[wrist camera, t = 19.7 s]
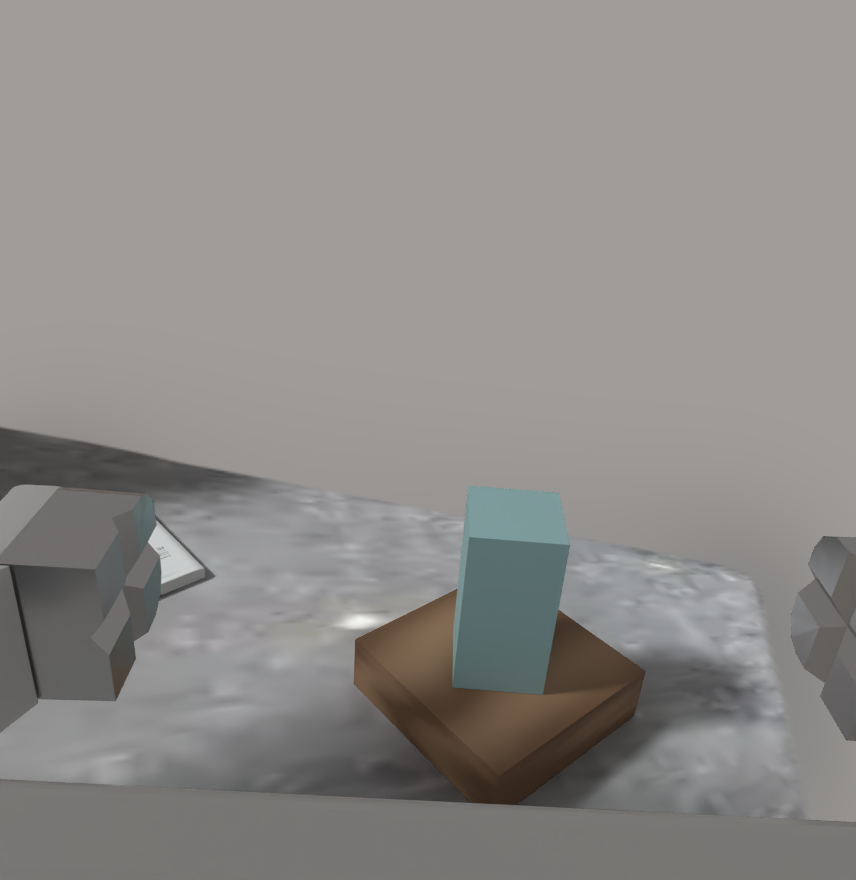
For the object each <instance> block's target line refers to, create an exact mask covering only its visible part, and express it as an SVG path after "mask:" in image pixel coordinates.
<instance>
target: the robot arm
mask: <svg viewBox="0 0 856 880" xmlns="http://www.w3.org/2000/svg"><path fill="white" fill-rule="evenodd" d="M156 525H157V523H156V516H155V509H154V502H153V500H152V499H151V498H150V496H149V495H148V494H145V493H132V492H120V491H108V490H95V489H83V488H70V487H65V488H63V487H60V486H44V485H19V486H14V487H13V488H12V489H11V490H10V491H9V492H8V493H7V494H6V495H5V496H4V498H3V499H2V500H1V501H0V732H1V731H3V730H4V729H5V728H7V727H8V726H9V725H10V724H12V723H13V722H14V721H16V720H17V719H18V718H20V717H21V716H22V715H23V714H25V713H26V712H27V711H29V710H30V709H31V708H32V707H34V706H35V705H36V704H38V699H54V700H92V701H116V699H117V697H118V695H119V693H120V691H121V689H122V687H123V685H124V682H125V680H126V678H127V676H128V674H129V672H130V670H131V668H132V666H133V663H134V661H135V659H136V656H135V648H134V641H135V640H136V639H138V638H139V637H141V636H143V635H144V634H146V633H147V632H148V631H149V629H150V627H151V624H152V622H153V620H154V618H155V615H156V611H157V607H158V602H159V598H160V593H161V574H162V572H161V561H160V555H159V554H158V553H157V552H156V551H155V550H154V548H153V547H152V546H151V545H150V544H149V543H148V540H149V539H150V537H151V535H152V533H153V531H154V529H155V527H156ZM808 565H809V567H810V569H811V571H812V573H813V575H814V577H815V580H813V581H812V582H811V583H810V584H808V585H807V586H806V587H805V588H803V589H802V590H801V591H800V592H798V594H797V597H796V600H795V603H794V607H793V610H792V613H791V638H792V642H793V645H794V649H795V652H796V655H797V656H798V658H799V660H800V662H801V663H802V665H803V667H804V669H806V670H807V671H808V672H810V673H811V674H813V675H814V676H816V677H817V678H818V679H820V680H821V681H823V682H824V683H825V684H824V687H823V690H822V693H821V696H820V697H821V698H822V700H823V702H824V704H825V705H826V707H827V709H828V710H829V712H830V714H831V715H832V717H833V719H834V720H835V722H836V724H837V726H838V727H839V729H840V731H841V732H842V734H843V736H844V738H845V739H846V740H851V741H856V537H829V536H823V537H822V539H821V540H820V541H819V542H818V544H817V545H816V546H815V547H814V550H813V552H812V555H811V558H810V561H809V563H808ZM0 880H856V822H840V821H821V820H802V819H782V818H763V817H744V816H724V815H705V814H685V813H665V812H645V811H624V810H604V809H583V808H563V807H542V806H522V805H501V804H481V803H460V802H440V801H419V800H399V799H379V798H359V797H340V796H320V795H300V794H281V793H261V792H241V791H222V790H202V789H182V788H162V787H143V786H123V785H103V784H84V783H64V782H44V781H25V780H5V779H0Z"/></svg>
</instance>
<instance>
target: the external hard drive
mask: <svg viewBox="0 0 856 880" xmlns="http://www.w3.org/2000/svg"><path fill="white" fill-rule="evenodd" d="M156 523H157V525H156V527H155V529H154V531H153V533H152V535H151V537H150V539H149V540H148V543H149V544H150V545H151V546H152V547H153V548H154V550H155V551H156V552H157V553H158V554H159V555H160V561H161V572H162V574H161V593H160V595H163V594H166V593H168V592H171V591H173V590H176V589H178V588H181V587H183V586H186V585H188V584H190V583H193V582H195V581H198V580H200V579H203V578H205V569H204V568H203V566H202V565H201V564H200V563H199V562H198V561H196V560H195V559H194V557H193V556H192V555H191V554H190V553H189V552H188V551H187V550H186V549H185V548H184V547H183V546H182V545H181V544H180V543H179V542H178V541H177V540H176V539H175V538H174V537H173V536H172V535H171V534H170V533H169V532H168V531H167V530H166V529H165V528H164V527H163V526H162V525H161V524H160V523H159V522H158V521H157V520H156Z"/></svg>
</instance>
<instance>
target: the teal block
mask: <svg viewBox="0 0 856 880" xmlns="http://www.w3.org/2000/svg"><path fill="white" fill-rule="evenodd" d="M569 548H570V543H569V538H568V533H567V529H566V524H565V519H564V514H563V509H562V505H561V500H560V495H559V493H554V492H541V491H528V490H516V489H503V488H490V487H478V486H468V494H467V504H466V513H465V523H464V532H463V541H462V551H461V560H460V570H459V579H458V588H457V598H456V607H455V617H454V626H453V685H452V688H464V689H476V690H489V691H502V692H514V693H527V694H539V695H543V691H544V685H545V680H546V674H547V669H548V663H549V658H550V652H551V647H552V641H553V636H554V630H555V625H556V619H557V614H558V608H559V603H560V597H561V592H562V586H563V581H564V575H565V570H566V564H567V559H568V553H569Z"/></svg>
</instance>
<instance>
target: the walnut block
mask: <svg viewBox="0 0 856 880" xmlns="http://www.w3.org/2000/svg"><path fill="white" fill-rule="evenodd" d="M456 598H457V589H456V590H454V591H452V592H450V593H448V594H446V595H444V596H442V597H440V598H438V599H436V600H434V601H432V602H430V603H428V604H426V605H424V606H422V607H420V608H418V609H416V610H414V611H412V612H410V613H408V614H406V615H404V616H402V617H400V618H398V619H396V620H394V621H392V622H390V623H388V624H386V625H384V626H382V627H380V628H378V629H376V630H374V631H372V632H369V633H367V634H365V635H363V636H361V637H359V638H357V639H355V664H354V685H355V686H356V687H357V688H358V689H359V690H360V691H361V692H362V693H363V694H364V695H365V696H366V697H367V698H368V699H369V700H370V701H371V702H372V703H373V704H374V705H375V706H376V707H377V708H378V709H379V710H380V711H381V712H382V713H383V714H384V715H385V716H386V717H387V718H388V719H389V720H390V721H391V722H392V723H393V724H394V725H395V726H396V727H397V728H398V729H399V730H400V731H401V732H402V733H403V735H404V736H405V737H406V738H407V739H408V740H409V741H410V742H411V743H412V744H413V745H414V746H415V747H416V748H417V749H418V750H419V751H420V752H421V753H422V754H423V755H424V756H425V757H426V758H427V759H428V760H429V761H430V762H431V763H432V764H433V765H434V766H435V767H436V768H437V769H438V770H439V771H440V772H441V773H442V774H443V775H444V776H445V777H446V778H447V779H448V780H449V781H450V782H451V783H452V784H453V785H454V786H455V787H456V788H457V790H458V791H459V792H460V793H461V794H462V795H463V796H464V797H465V798H466V799H467V800H468V801H469V802H470V803H481V804H501V805H517V804H518V803H519V802H521V801H522V800H523V799H525V798H526V797H527V796H529V795H530V794H531V793H533V792H534V791H535V790H537V789H538V788H539V787H541V786H542V785H543V784H545V783H546V782H547V781H548V780H550V779H551V778H552V777H554V776H555V775H556V774H558V773H559V772H560V771H562V770H563V769H564V768H566V767H567V766H568V765H570V764H571V763H572V762H574V761H575V760H576V759H577V758H579V757H580V756H581V755H583V754H584V753H585V752H587V751H588V750H589V749H591V748H592V747H593V746H595V745H596V744H597V743H599V742H600V741H601V740H603V739H604V738H605V737H606V736H608V735H609V734H610V733H612V732H613V731H614V730H616V729H617V728H618V727H620V726H621V725H622V724H624V723H625V722H626V721H628V720H629V719H630V718H631V717H633V716H634V713H635V709H636V705H637V702H638V698H639V694H640V690H641V686H642V682H643V678H644V675H645V671H644V670H643V669H641V668H640V667H639V666H637V665H636V664H634V663H633V662H631V661H630V660H629V659H627V658H626V657H624V656H623V655H622V654H620V653H619V652H617V651H616V650H615V649H613V648H612V647H610V646H609V645H607V644H606V643H605V642H603V641H602V640H600V639H599V638H598V637H596V636H595V635H593V634H592V633H590V632H589V631H588V630H586V629H585V628H583V627H582V626H581V625H579V624H578V623H576V622H575V621H574V620H572V619H571V618H569V617H568V616H566V615H565V614H564V613H562V612H561V611H559V610H558V614H557V619H556V625H555V630H554V636H553V641H552V647H551V652H550V658H549V663H548V669H547V674H546V680H545V685H544V691H543V695H539V694H527V693H514V692H502V691H489V690H476V689H464V688H452V685H453V626H454V617H455V607H456Z"/></svg>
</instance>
